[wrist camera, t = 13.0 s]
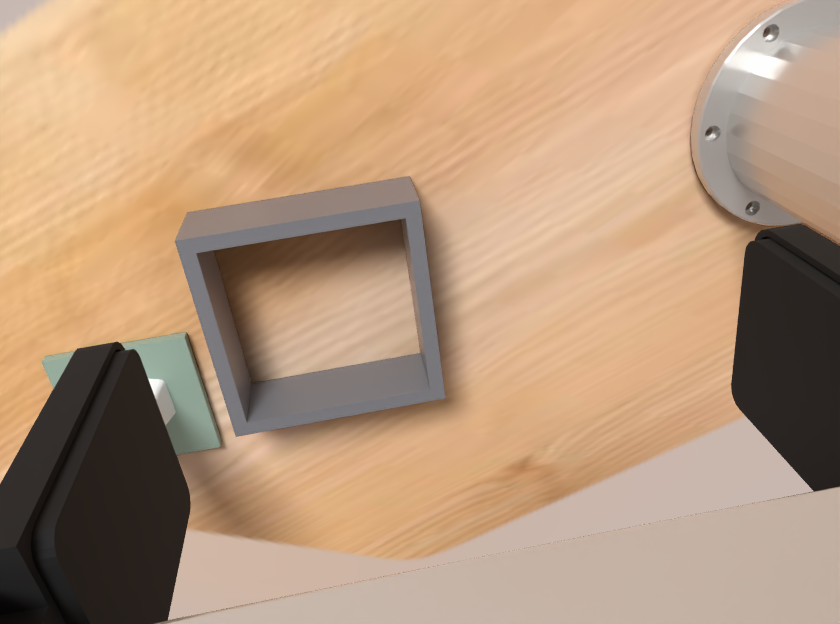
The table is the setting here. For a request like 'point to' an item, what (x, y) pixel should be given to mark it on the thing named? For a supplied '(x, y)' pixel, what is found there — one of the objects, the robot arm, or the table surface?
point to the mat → (183, 382)
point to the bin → (329, 388)
